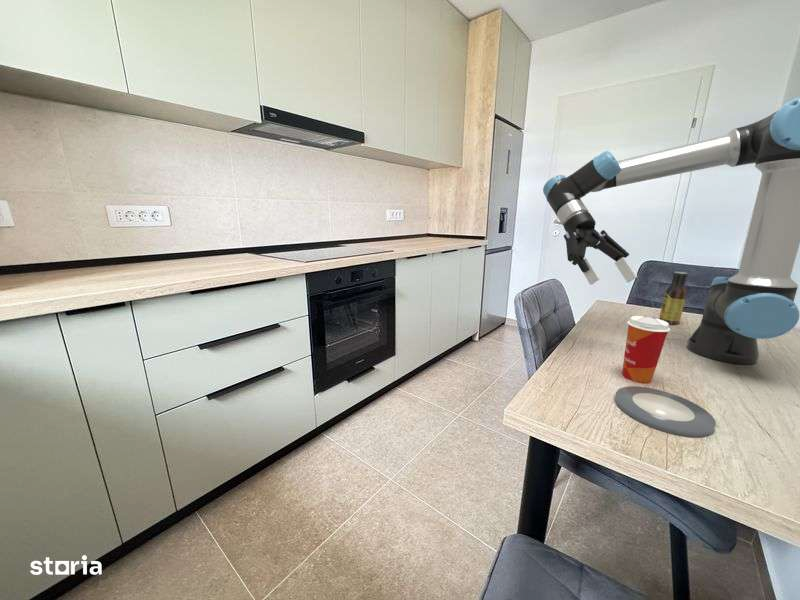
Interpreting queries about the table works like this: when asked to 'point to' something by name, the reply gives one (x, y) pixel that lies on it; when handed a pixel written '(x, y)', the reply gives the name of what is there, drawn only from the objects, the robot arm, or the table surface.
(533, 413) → the table surface
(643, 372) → the coffee cup
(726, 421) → the table surface
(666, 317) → the sauce bottle
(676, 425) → the saucer
